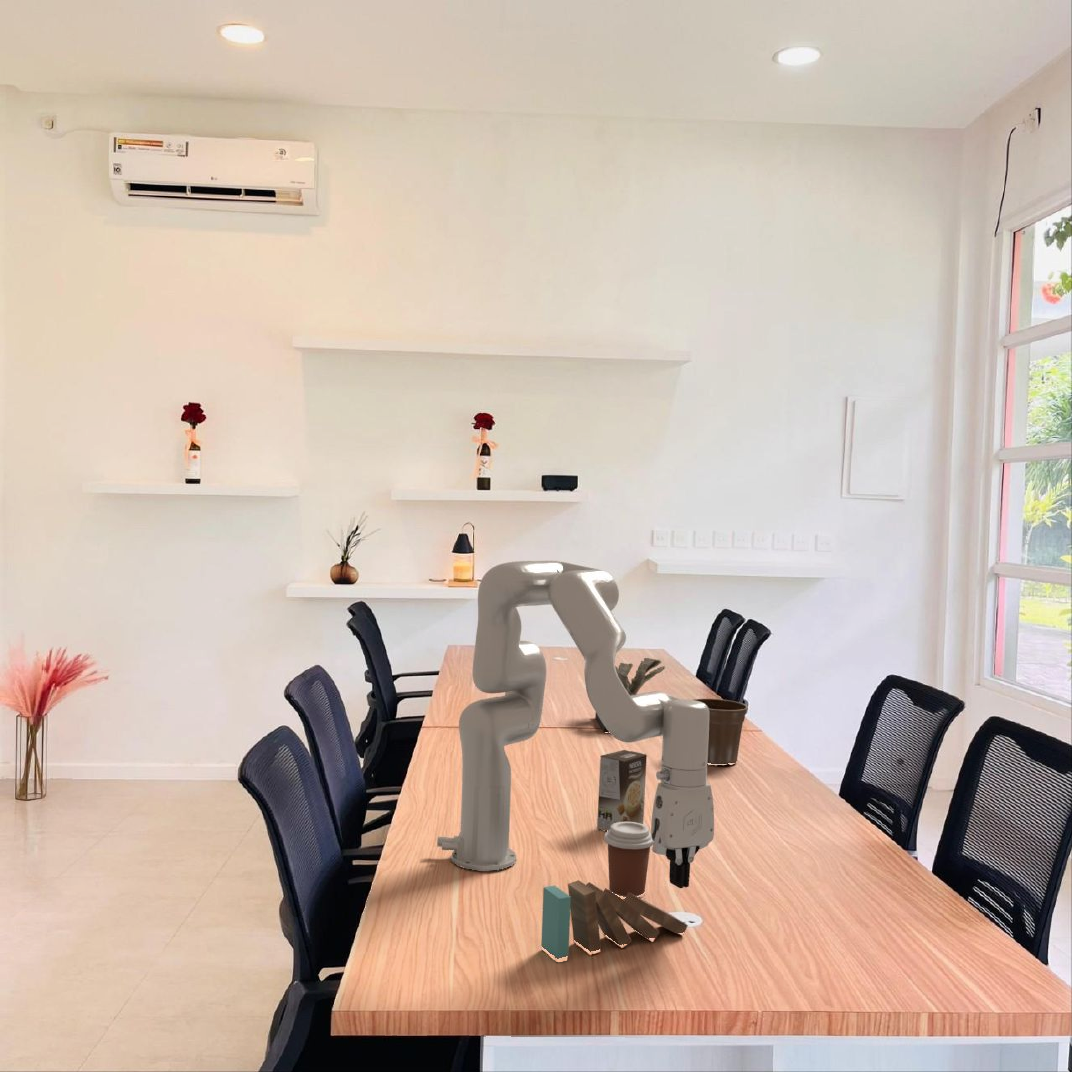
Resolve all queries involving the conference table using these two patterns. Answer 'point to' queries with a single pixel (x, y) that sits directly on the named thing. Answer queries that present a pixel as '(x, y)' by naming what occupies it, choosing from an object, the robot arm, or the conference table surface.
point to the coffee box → (621, 788)
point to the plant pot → (724, 729)
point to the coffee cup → (628, 857)
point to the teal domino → (555, 921)
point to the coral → (635, 678)
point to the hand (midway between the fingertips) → (679, 884)
